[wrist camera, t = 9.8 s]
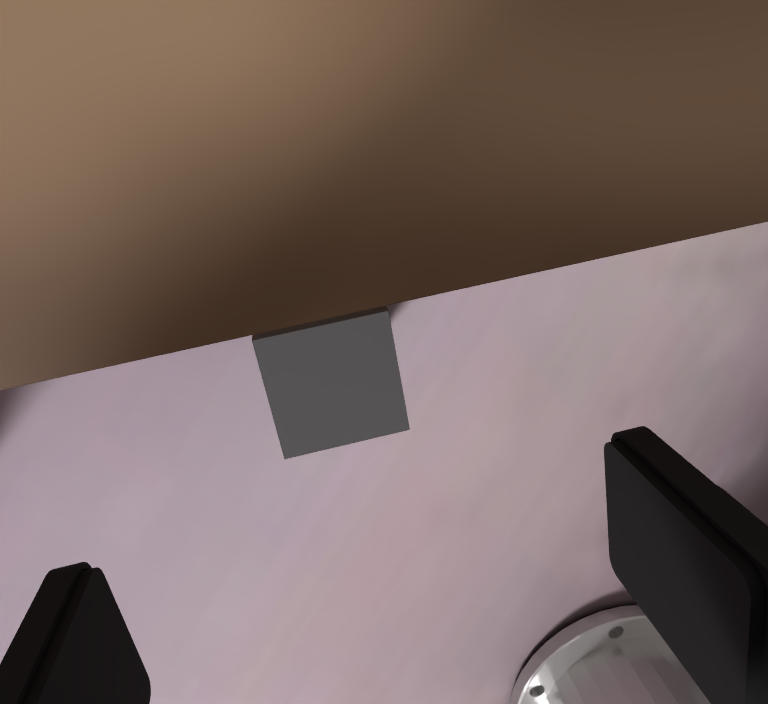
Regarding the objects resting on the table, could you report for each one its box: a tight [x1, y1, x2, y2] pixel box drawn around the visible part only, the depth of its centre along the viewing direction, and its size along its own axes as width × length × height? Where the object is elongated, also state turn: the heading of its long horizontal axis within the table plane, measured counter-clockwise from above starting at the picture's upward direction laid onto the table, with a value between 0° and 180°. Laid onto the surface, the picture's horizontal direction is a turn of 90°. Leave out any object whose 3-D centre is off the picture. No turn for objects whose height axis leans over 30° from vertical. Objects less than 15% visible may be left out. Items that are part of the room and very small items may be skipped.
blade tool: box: [252, 306, 410, 459], centre depth 19 cm, size 20×4×8 cm, turn 10°
